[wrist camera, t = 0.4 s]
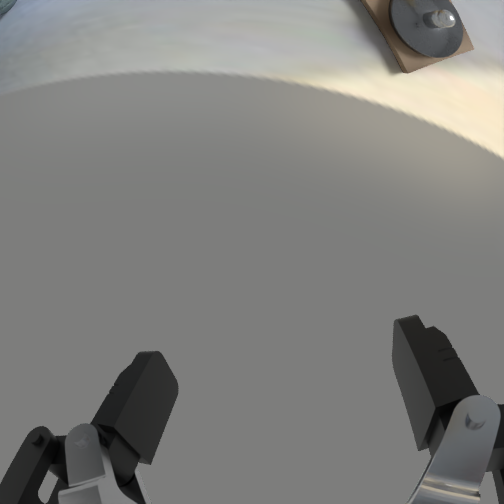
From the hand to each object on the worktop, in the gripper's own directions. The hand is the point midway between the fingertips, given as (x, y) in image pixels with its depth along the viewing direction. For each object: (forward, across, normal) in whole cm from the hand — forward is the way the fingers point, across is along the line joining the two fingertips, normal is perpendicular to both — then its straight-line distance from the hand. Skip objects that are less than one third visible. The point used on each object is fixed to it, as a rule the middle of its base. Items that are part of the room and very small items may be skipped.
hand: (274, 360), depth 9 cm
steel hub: (+22, -21, -18) cm, 35 cm away
